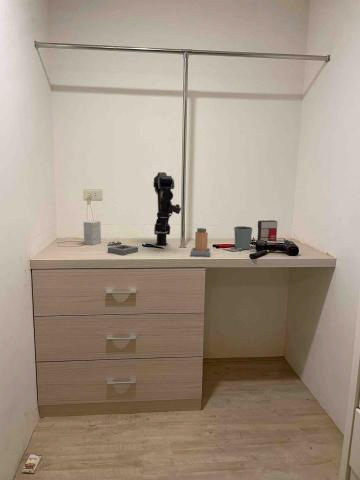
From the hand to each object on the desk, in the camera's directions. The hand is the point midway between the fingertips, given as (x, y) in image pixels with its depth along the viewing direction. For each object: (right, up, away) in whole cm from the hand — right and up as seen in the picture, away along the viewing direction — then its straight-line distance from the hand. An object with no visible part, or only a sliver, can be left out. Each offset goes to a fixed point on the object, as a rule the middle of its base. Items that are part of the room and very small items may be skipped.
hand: (164, 228), depth 205 cm
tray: (+19, -14, -6) cm, 24 cm away
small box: (-43, -8, +17) cm, 47 cm away
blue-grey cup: (+44, -11, +12) cm, 47 cm away
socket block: (-21, -13, -9) cm, 27 cm away
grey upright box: (+60, -10, +21) cm, 64 cm away
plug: (+19, -13, -7) cm, 24 cm away
